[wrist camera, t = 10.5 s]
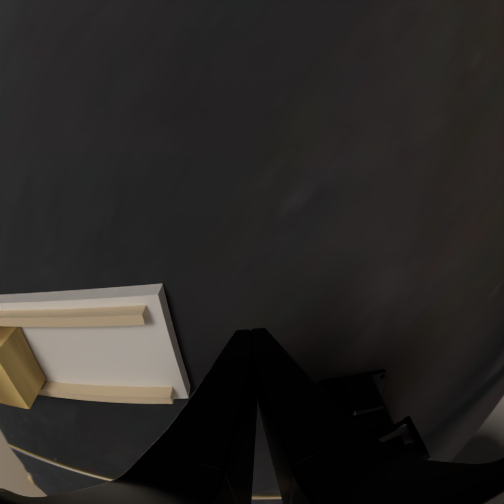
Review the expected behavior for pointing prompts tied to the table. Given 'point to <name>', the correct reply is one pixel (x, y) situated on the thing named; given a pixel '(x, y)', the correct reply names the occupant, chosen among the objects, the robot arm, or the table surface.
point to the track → (102, 343)
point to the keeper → (18, 369)
